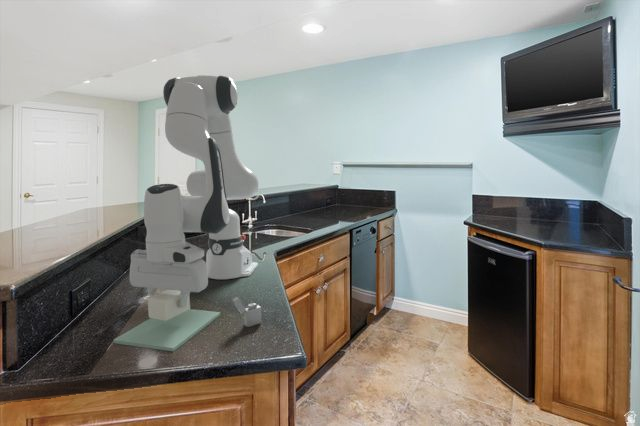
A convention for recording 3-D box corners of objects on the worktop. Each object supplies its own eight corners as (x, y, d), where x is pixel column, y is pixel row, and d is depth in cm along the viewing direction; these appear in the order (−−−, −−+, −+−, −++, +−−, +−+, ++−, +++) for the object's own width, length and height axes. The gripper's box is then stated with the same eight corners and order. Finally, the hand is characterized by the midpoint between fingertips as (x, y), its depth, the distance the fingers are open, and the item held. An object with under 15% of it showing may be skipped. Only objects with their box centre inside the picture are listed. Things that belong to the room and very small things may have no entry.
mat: (169, 309, 103) (169, 306, 103) (220, 315, 99) (220, 312, 99) (113, 343, 84) (113, 339, 84) (173, 351, 80) (173, 348, 80)
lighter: (258, 320, 95) (257, 291, 94) (261, 322, 94) (260, 293, 93) (233, 328, 91) (231, 297, 90) (236, 330, 90) (234, 299, 89)
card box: (148, 317, 88) (147, 297, 87) (173, 305, 95) (172, 287, 95) (165, 321, 86) (164, 300, 85) (190, 308, 93) (189, 290, 93)
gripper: (121, 251, 88) (125, 306, 90) (195, 256, 83) (198, 314, 85) (139, 246, 94) (143, 297, 96) (210, 250, 89) (212, 304, 91)
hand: (169, 305), depth 90 cm, fingers closed on card box, 6 cm apart
